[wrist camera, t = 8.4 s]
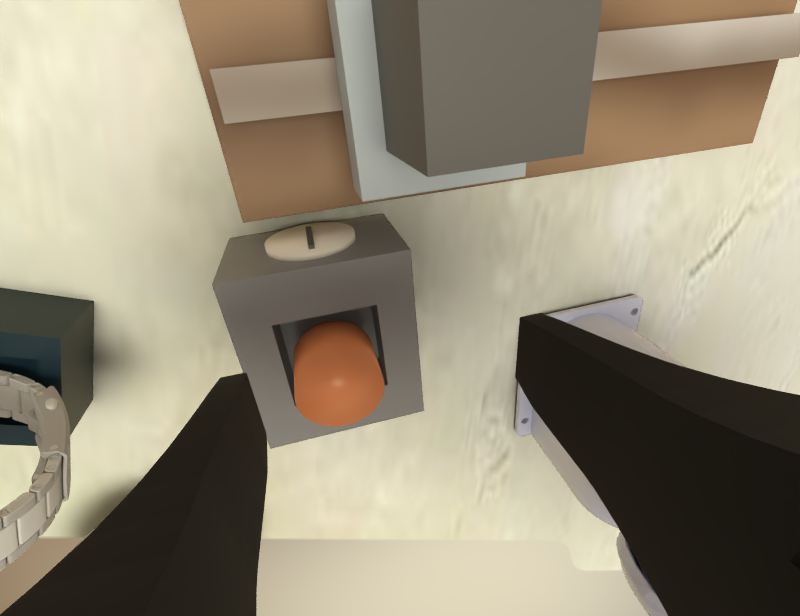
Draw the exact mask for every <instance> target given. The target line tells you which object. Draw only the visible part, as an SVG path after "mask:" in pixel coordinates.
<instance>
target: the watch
mask: <svg viewBox="0 0 800 616" xmlns="http://www.w3.org/2000/svg"><path fill="white" fill-rule="evenodd" d="M93 328H94V301H87V300H80V299H73V298H66V297H59V296H53V295H46V294H39V293H32V292H25V291H18V290H11V289H4V288H0V444H1V445H26V446H38V448H39V450H40V460H39V463H38V466H37V468H36V470H35V472H34V474H33V476H32V485H31V486H30V488H29V492H26V493H23V494H22V495H20V496H19V497H18V498H16V499H15V500H14V501H13V502H11V503H10V504H8V505H7V506H5V507H4V508H3V509H1V510H0V571H2V570H3V569H4V568H5V567H6V566H7V564H6V563H8V564H10V563H12V562H13V561H15V560H16V559H17V558H18V557H20V556H21V555H22V554H23V553H24V552H25V551H26V550H28V549H29V548H30V547H31V546H32V545H33V544H34V543H35V542H36V541H37V540H38V536H41V535H42V534H43V533H44V532H45V531H46V530H47V528H48V527H49V526H50V524H51V523H52V521H53V520H54V518H55V514H57V513H58V511H59V509H60V507H61V504H62V501H66V500H68V499H69V492H70V481H71V468H70V435H71V434H72V432H73V430H74V429H75V427H76V426H77V424H78V422H79V421H80V419H81V418H82V416H83V414H84V413H85V411H86V410H87V408H88V406H89V405H90V403H91V401H92V400H93Z"/></svg>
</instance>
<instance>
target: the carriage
mask: <svg viewBox="0 0 800 616" xmlns="http://www.w3.org/2000/svg"><path fill="white" fill-rule="evenodd" d="M327 6H328V13H329V20H330V27H331V33H332V40H333V47H334V54H335V61H336V68H337V75H338V82H339V88H340V95H341V102H342V109H343V116H344V123H345V130H346V137H347V143H348V150H349V157H350V164H351V171H352V178H353V185H354V190H355V191H356V193H357V194H358V196H359V197H360V199H361V200H362V202H365V201H371V200H377V199H384V198H390V197H397V196H403V195H410V194H416V193H422V192H429V191H435V190H442V189H448V188H455V187H461V186H467V185H474V184H480V183H487V182H493V181H499V180H506V179H512V178H519V177H525V174H526V162H533V161H539V160H546V159H553V158H560V157H566V156H573V155H580V154H583V153H584V145H585V136H586V128H587V120H588V112H589V104H590V96H591V88H592V80H593V72H594V64H595V55H596V47H597V39H598V31H599V23H600V15H601V7H602V0H327Z"/></svg>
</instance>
